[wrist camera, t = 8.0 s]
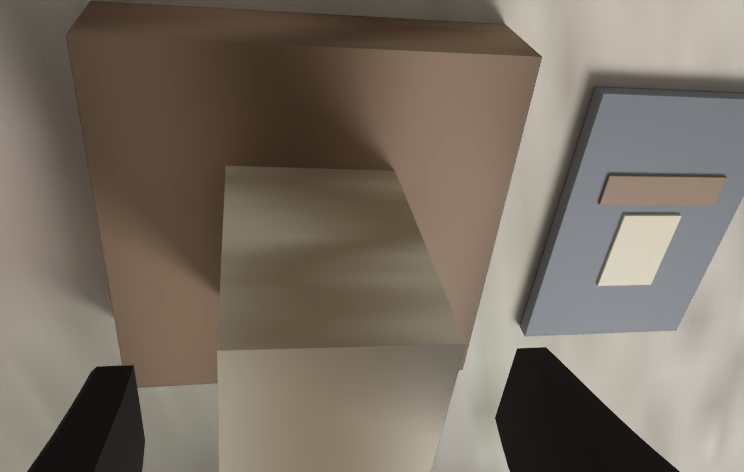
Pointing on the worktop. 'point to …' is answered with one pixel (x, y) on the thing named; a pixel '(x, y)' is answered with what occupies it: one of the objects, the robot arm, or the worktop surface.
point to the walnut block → (282, 145)
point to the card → (639, 212)
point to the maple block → (329, 326)
